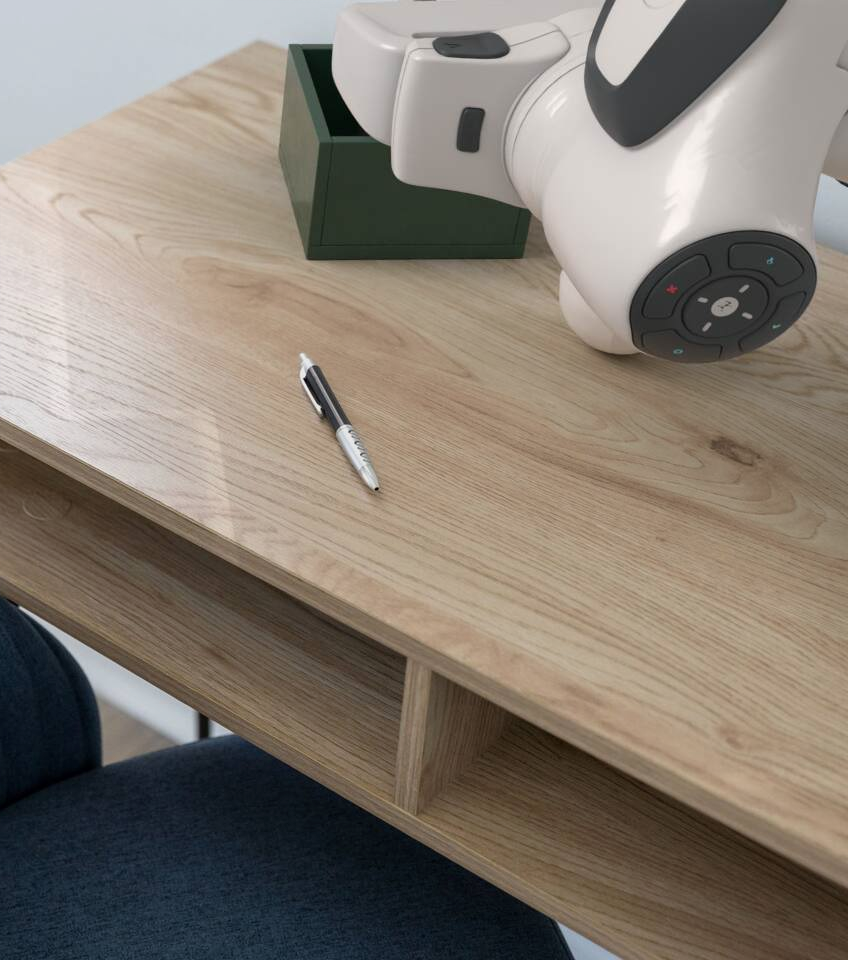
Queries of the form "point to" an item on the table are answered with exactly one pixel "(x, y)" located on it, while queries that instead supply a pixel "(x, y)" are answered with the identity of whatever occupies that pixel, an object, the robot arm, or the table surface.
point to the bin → (373, 185)
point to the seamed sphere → (588, 321)
